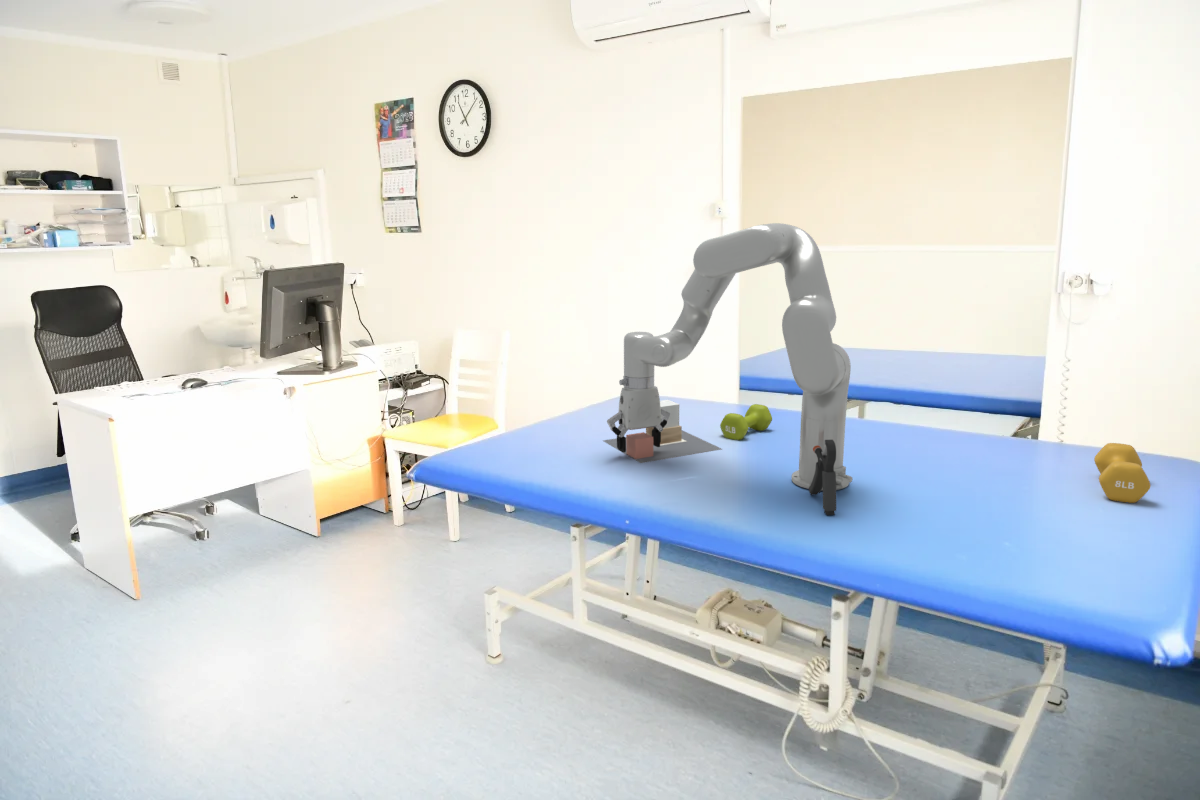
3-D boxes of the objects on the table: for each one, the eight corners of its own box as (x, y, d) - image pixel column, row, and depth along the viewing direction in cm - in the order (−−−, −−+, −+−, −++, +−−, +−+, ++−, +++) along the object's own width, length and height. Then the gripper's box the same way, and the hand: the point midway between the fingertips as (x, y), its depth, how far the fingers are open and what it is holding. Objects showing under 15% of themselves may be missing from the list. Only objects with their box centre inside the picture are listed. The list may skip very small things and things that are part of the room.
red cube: (653, 456, 195) (653, 437, 194) (635, 459, 193) (635, 439, 192) (643, 450, 199) (643, 432, 198) (626, 453, 197) (626, 434, 196)
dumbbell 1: (742, 444, 205) (742, 417, 204) (717, 438, 211) (717, 413, 209) (774, 430, 217) (775, 405, 215) (749, 426, 222) (750, 401, 221)
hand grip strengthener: (817, 494, 168) (820, 427, 165) (836, 516, 156) (840, 444, 153) (807, 494, 168) (810, 427, 165) (825, 516, 156) (829, 445, 153)
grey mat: (723, 450, 200) (723, 449, 199) (640, 464, 190) (640, 463, 190) (679, 430, 219) (679, 428, 219) (602, 442, 209) (602, 440, 209)
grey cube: (679, 426, 207) (679, 404, 205) (659, 429, 204) (659, 407, 203) (668, 421, 212) (668, 399, 211) (648, 423, 210) (648, 402, 208)
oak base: (681, 440, 207) (681, 426, 206) (658, 444, 205) (658, 429, 204) (668, 434, 214) (668, 420, 213) (646, 437, 211) (645, 423, 210)
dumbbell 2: (1091, 473, 178) (1096, 439, 176) (1139, 479, 174) (1144, 444, 172) (1096, 500, 162) (1101, 463, 160) (1148, 507, 158) (1154, 469, 156)
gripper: (614, 389, 185) (614, 457, 189) (677, 381, 192) (676, 447, 196) (601, 382, 192) (601, 449, 196) (662, 376, 199) (661, 440, 203)
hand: (639, 448), depth 196 cm, fingers open, 9 cm apart
